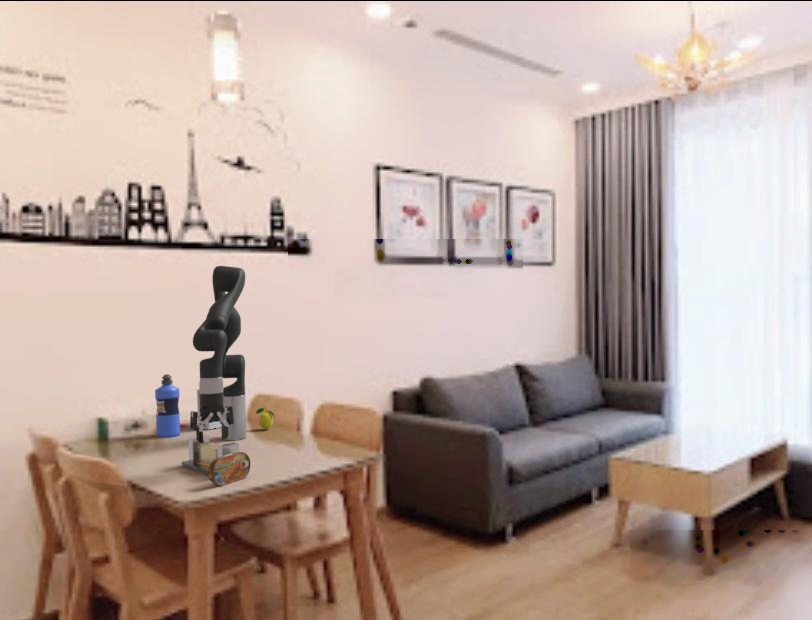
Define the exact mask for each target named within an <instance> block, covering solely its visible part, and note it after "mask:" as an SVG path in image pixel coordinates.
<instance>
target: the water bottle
mask: <svg viewBox="0 0 812 620" xmlns="http://www.w3.org/2000/svg"><path fill="white" fill-rule="evenodd" d="M161 379H162V380H161V386H159V387H158V388H156V389H155V390H154V398H155V401H156V414H155V415H156V416H155V417H156V419H155V420H156V422H155V425H156V427H155V428H156V437H157V438H159V439H168V438H169V439H170V438H175V437H179V436H181V423H180V422H181V421H180V419H181V418H180V410H179V409H180V408H179V404H180V403H179V400H180V388H179V387H176V386H174V385H173V383H174V382H173V379H172V376H171V375H170V374H164V375H162V377H161Z"/></svg>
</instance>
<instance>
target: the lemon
mask: <svg viewBox="0 0 812 620" xmlns="http://www.w3.org/2000/svg"><path fill="white" fill-rule="evenodd" d="M262 412H263V413H262ZM260 413H261V414H260ZM254 414H256V415H257V414H260V417H259V426H260V427H261V428H263V429H265V431H267V430H268V429H269V428H271V427H272V426H273V423H274V420H273V419H274V418H276V416H275V414H274V412H272V411H271V410H265V407H264V408H263V407H260V408H258V409H256V411H255V413H254ZM273 417H274V418H273Z"/></svg>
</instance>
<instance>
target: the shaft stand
mask: <svg viewBox="0 0 812 620" xmlns="http://www.w3.org/2000/svg"><path fill="white" fill-rule="evenodd" d="M187 442H188V443H187V444H188V460H184V461H181V467H183V468H187V469H189V470H192V471H195V472H197V473H200V474H202V475H203V474H204V475H205V474H206V476H208V475H209V465H206V464H203V463H200V462H199V444H201V443H198V441H197V440H196V435H195V436H194V435H193V436H188V441H187ZM207 442H210V435H208V434H204V433H203V443H207ZM235 452H240V443H238V442H229V443H224V444H218V446H217V458H218V457H222V456H225V455H228V454H231V453H235Z"/></svg>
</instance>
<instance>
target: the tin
mask: <svg viewBox="0 0 812 620" xmlns="http://www.w3.org/2000/svg"><path fill="white" fill-rule="evenodd" d="M250 470H251V459H250V457H249V455H248V454H247V453H246V452H244V451H239V452H235V453H231V454H228V455H225V456H222V457H218V458H216V459H214V460H213V461H212V462H211V464H210V466H209V476H208V480H209V481H210V482H211V483H212V484H214V485H216V486H221V487H223V486H227V485H230V484H233V483H235V482H238V480H239V481H242V480H244V479H245V478H247V476H248V475H249V473H250ZM232 482H233V483H232Z"/></svg>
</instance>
